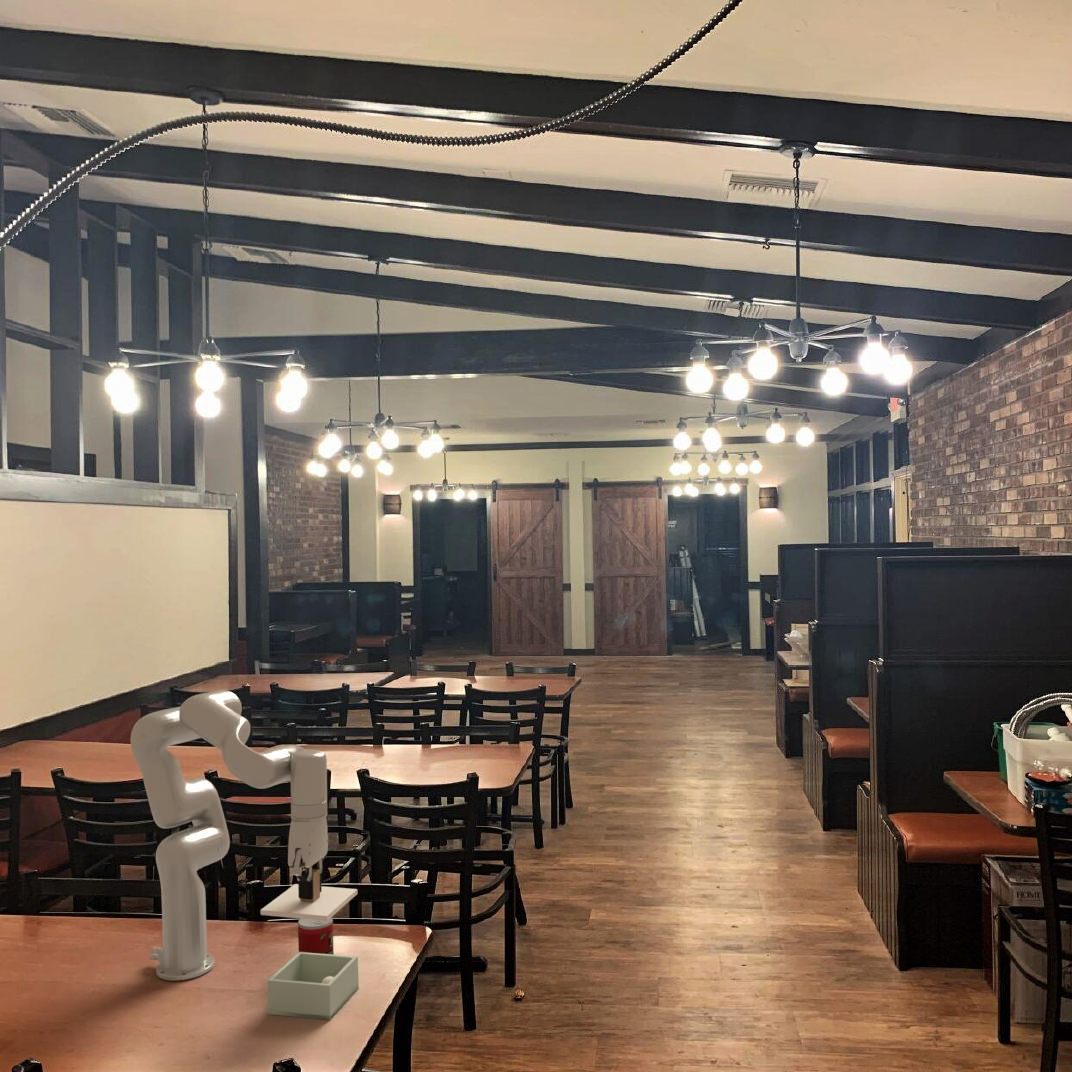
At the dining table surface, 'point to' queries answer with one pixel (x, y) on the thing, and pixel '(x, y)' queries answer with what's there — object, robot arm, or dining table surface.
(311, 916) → the lid
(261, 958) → the dining table surface
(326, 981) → the ball cream
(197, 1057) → the dining table surface
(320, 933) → the canned food
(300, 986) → the box
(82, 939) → the dining table surface
